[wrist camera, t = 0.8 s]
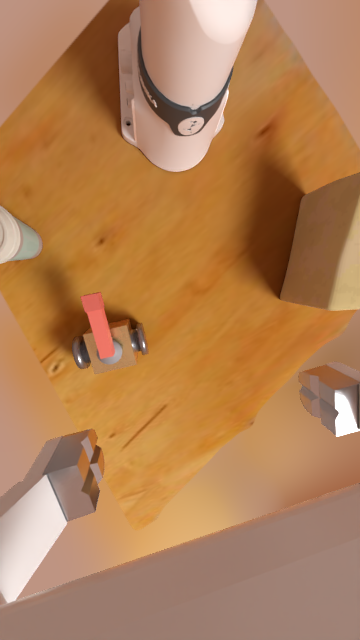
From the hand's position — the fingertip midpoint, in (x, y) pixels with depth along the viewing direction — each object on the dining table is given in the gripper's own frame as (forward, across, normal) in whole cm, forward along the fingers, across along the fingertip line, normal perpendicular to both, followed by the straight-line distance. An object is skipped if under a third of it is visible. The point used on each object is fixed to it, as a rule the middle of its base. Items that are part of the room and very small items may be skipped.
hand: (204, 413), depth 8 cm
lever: (+32, +11, +2) cm, 34 cm away
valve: (+39, +11, +7) cm, 41 cm away
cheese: (+39, -34, -4) cm, 52 cm away
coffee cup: (+39, +21, -15) cm, 47 cm away
